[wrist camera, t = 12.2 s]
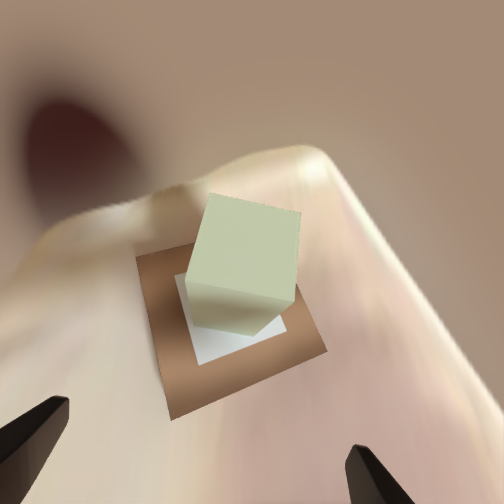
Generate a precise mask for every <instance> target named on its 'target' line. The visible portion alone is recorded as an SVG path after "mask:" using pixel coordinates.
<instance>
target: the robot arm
mask: <svg viewBox="0 0 504 504" xmlns="http://www.w3.org/2000/svg"><path fill="white" fill-rule="evenodd" d="M68 420H69V398H68V397H64V396H57V395H56V396H52V397H50V398H48V399H47V400H45V401H44V402H42V403H40V404H39V405H37V406H36V407H34V408H32V409H31V410H29V411H28V412H26V413H24V414H23V415H21V416H19V417H18V418H16V419H15V420H13V421H11V422H10V423H8V424H7V425H5V426H3V427H2V428H0V504H20V503H21V502H22V500H23V499H24V497H25V496H26V494H27V493H28V491H29V490H30V488H31V486H32V485H33V483H34V481H35V480H36V478H37V476H38V474H39V473H40V471H41V469H42V467H43V466H44V464H45V462H46V460H47V459H48V457H49V455H50V453H51V452H52V450H53V448H54V446H55V445H56V443H57V441H58V439H59V438H60V436H61V434H62V432H63V430H64V429H65V427H66V425H67V423H68ZM345 471H346V476H347V482H348V488H349V494H350V499H351V504H415V503H414V502H413V501H412V499H411V498H410V497H409V496H408V495H407V493H406V492H405V491H404V490H403V489H402V487H401V486H400V485H399V484H398V483H397V481H396V480H395V479H394V478H393V477H392V475H391V474H390V473H389V472H388V471H387V469H386V468H385V467H384V466H383V465H382V463H381V462H380V461H379V460H378V458H377V457H376V456H375V455H374V454H373V452H372V451H371V450H370V449H369V448H368V447H366V446H363V445H357V444H355V445H353V447H352V449H351V451H350V453H349V455H348V457H347V459H346V463H345Z"/></svg>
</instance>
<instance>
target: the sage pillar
mask: <svg viewBox="0 0 504 504" xmlns="http://www.w3.org/2000/svg"><path fill="white" fill-rule="evenodd" d="M300 218H301V213H298V212H294V211H290V210H285V209H281V208H276V207H272V206H268V205H263V204H259V203H254V202H250V201H245V200H241V199H237V198H232V197H228V196H223V195H219V194H215V193H210V194H209V197H208V201H207V204H206V208H205V211H204V215H203V218H202V222H201V225H200V228H199V232H198V235H197V239H196V242H195V246H194V249H193V253H192V256H191V259H190V263H189V266H188V270H187V273H186V277H185V285H186V290H187V295H188V300H189V305H190V309H191V314H192V319H193V324H194V326H195V327H201V328H206V329H212V330H217V331H223V332H228V333H234V334H239V335H245V336H250V337H254V336H255V335H256V334H257V333H259V332H260V331H261V330H262V329H263V328H264V327H266V326H267V325H268V324H269V323H270V322H271V321H273V320H274V319H275V318H276V317H277V316H278V315H280V314H281V313H282V312H283V311H284V310H285V309H287V308H288V307H289V306H290V305H291V304H292V303H294V301H295V287H296V273H297V260H298V246H299V232H300Z"/></svg>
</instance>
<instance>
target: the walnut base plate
mask: <svg viewBox="0 0 504 504" xmlns="http://www.w3.org/2000/svg"><path fill="white" fill-rule="evenodd" d="M194 246H195V243H192V244H188V245H184V246H180V247H176V248H172V249H167V250H163V251H159V252H155V253H151V254H147V255H143V256H139V257H136V261H137V266H138V271H139V275H140V280H141V284H142V289H143V294H144V298H145V303H146V308H147V312H148V317H149V322H150V326H151V331H152V335H153V340H154V345H155V349H156V354H157V359H158V363H159V368H160V373H161V377H162V382H163V386H164V391H165V396H166V400H167V405H168V410H169V414H170V419H171V421H172V420H174V419H176V418H179V417H181V416H183V415H185V414H188V413H190V412H192V411H194V410H197V409H199V408H201V407H203V406H206V405H208V404H210V403H212V402H215V401H217V400H219V399H221V398H224V397H226V396H228V395H230V394H233V393H235V392H237V391H240V390H242V389H244V388H246V387H249V386H251V385H253V384H255V383H258V382H260V381H262V380H264V379H267V378H269V377H271V376H273V375H276V374H278V373H280V372H282V371H285V370H287V369H289V368H291V367H294V366H296V365H298V364H300V363H303V362H305V361H307V360H310V359H312V358H314V357H316V356H319V355H321V354H323V353H325V352H328V351H327V349H326V347H325V345H324V343H323V340H322V338H321V336H320V334H319V332H318V330H317V327H316V325H315V323H314V321H313V319H312V317H311V314H310V312H309V310H308V308H307V306H306V303H305V301H304V299H303V297H302V295H301V293H300V290H299V288H298V286H297V284H296V287H295V301H294V303H292V304H291V305H290V306H289V307H288V308H287V309H285V310H284V311H283V312H282V313H281V314H280V315H278V316H277V317H276V318H275V319H274V320H273V321H271V322H270V323H269V324H268V325H267V326H266V327H264V328H263V329H262V330H261V331H260V332H259V333H257V334H256V335H255V336H254V337H250V336H245V335H239V334H234V333H228V332H223V331H217V330H212V329H206V328H201V327H195V326H194V324H193V319H192V314H191V309H190V305H189V300H188V295H187V290H186V285H185V277H186V273H187V270H188V266H189V263H190V259H191V256H192V253H193V249H194Z"/></svg>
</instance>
